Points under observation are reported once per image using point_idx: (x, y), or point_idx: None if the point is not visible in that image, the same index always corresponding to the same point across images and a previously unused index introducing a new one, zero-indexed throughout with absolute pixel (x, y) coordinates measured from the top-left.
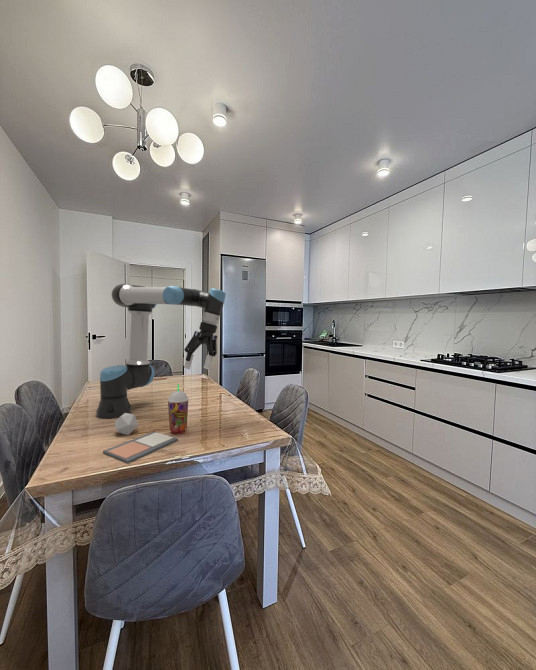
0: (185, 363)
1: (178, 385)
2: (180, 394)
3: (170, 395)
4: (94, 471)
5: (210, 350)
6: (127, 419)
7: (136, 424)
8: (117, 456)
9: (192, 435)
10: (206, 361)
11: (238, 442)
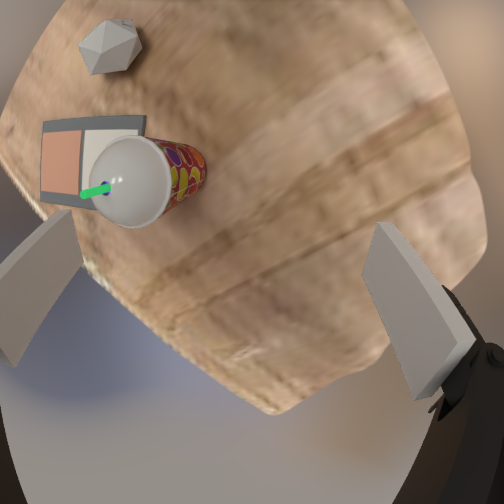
0: (37, 235)
1: (85, 197)
2: (102, 213)
3: (94, 162)
4: (19, 175)
5: (418, 471)
6: (88, 60)
7: (117, 69)
8: (40, 168)
9: (180, 228)
10: (405, 286)
11: (200, 350)
